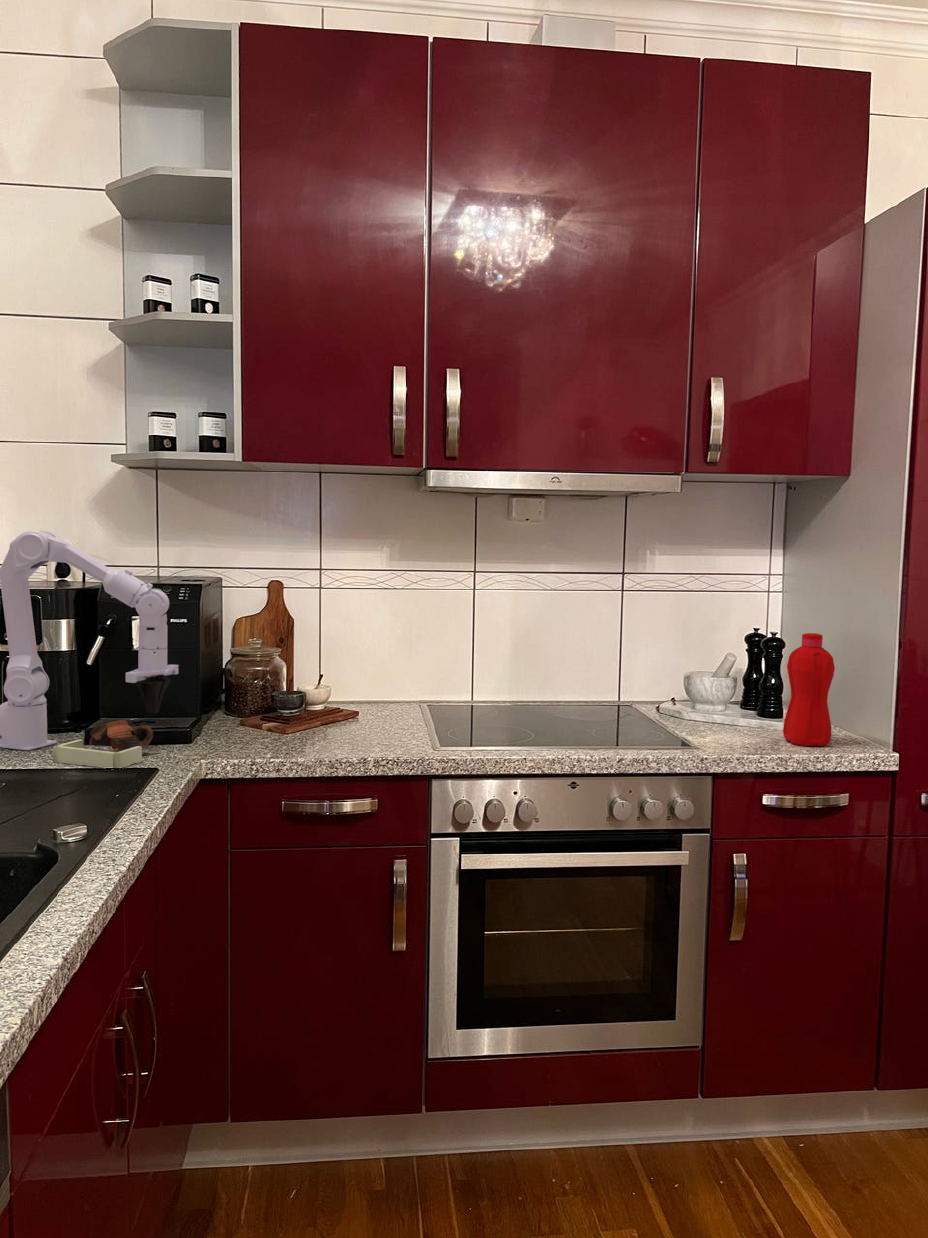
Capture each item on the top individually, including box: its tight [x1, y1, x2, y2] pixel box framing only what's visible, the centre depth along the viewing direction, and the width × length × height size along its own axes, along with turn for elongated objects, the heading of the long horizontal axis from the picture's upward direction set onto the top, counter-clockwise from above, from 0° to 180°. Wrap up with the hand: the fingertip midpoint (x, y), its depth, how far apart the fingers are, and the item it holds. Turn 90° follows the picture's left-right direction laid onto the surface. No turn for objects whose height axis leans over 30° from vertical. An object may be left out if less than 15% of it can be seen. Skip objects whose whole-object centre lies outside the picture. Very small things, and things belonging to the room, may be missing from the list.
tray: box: [52, 738, 143, 768], centre depth 180 cm, size 15×7×3 cm, turn 70°
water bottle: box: [782, 632, 836, 747], centre depth 212 cm, size 9×11×25 cm
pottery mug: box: [88, 719, 154, 752], centre depth 186 cm, size 12×10×8 cm
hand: (152, 712), depth 195 cm, fingers closed
